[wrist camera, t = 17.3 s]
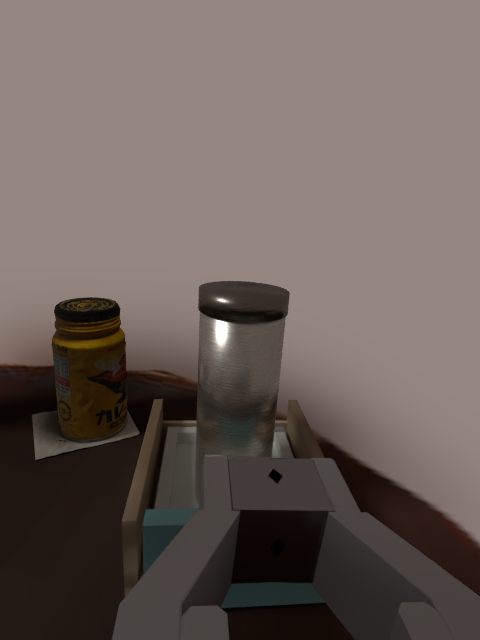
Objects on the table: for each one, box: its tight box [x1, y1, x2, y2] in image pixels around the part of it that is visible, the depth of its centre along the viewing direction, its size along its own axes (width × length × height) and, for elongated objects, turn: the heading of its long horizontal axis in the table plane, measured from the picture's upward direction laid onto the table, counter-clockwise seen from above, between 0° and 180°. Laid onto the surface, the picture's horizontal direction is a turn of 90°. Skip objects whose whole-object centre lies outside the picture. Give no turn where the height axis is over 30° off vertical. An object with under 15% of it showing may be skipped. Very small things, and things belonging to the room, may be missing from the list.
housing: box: [122, 399, 325, 596], centre depth 26 cm, size 12×12×5 cm
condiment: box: [32, 297, 140, 460], centre depth 33 cm, size 7×8×12 cm
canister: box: [194, 281, 289, 505], centre depth 23 cm, size 5×5×14 cm
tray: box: [142, 427, 325, 608], centre depth 25 cm, size 10×13×6 cm
